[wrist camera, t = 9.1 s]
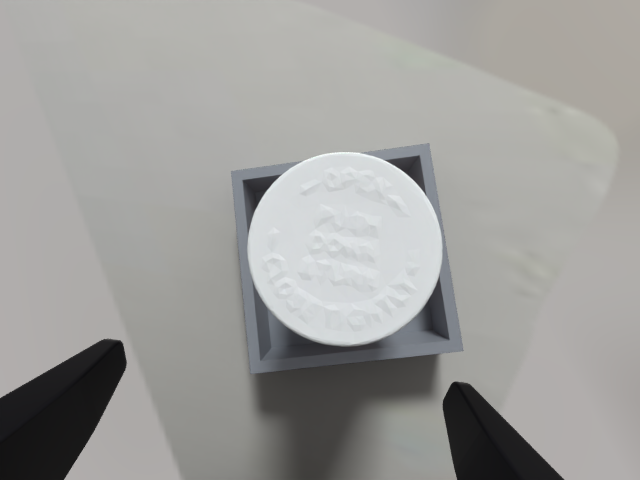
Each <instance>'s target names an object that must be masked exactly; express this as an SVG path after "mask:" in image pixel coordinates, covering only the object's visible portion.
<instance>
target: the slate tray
mask: <svg viewBox="0 0 640 480" xmlns="http://www.w3.org/2000/svg"><path fill="white" fill-rule="evenodd" d="M361 154H366V155H370V156H374V157H377V158H380V159H382V160H384V161H386V162H388V163H390V164H392V165H394V166H396V167H397V168H399V169H400V170H402V171H403V172H404V173H406V174H407V175H408V176H409V177H410V178H411V179H412V180H414V181H415V182H416V184H417V185H418V186H419V187H420V188H421V189H422V191H423V192H424V193H425V195H426V196H427V198H428V200H429V201H430V203H431V205H432V207H433V209H434V211H435V213H436V216H437V220H438V223H439V226H440V230H441V236H442V245H443V249H442V265H441V270H440V274H439V278H438V281H437V284H436V286H435V289H434V291H433V293H432V295H431V296H430V298H429V300H428V301H427V303H426V304H425V306H424V307H423V309H422V310H421V311H420V313H419V314H418V315H417V316H416V317H415V318H414V319H413V320H412V321H411V322H409V323H408V324H407V325H406V326H405V327H403V328H402V329H401V330H399V331H398V332H396V333H394V334H392V335H391V336H389V337H387V338H384V339H382V340H379V341H377V342H374V343H370V344H366V345H360V346H348V347H342V346H332V345H325V344H321V343H317V342H314V341H311V340H309V339H307V338H304V337H302V336H300V335H298V334H297V333H295V332H293V331H292V330H290V329H289V328H287V327H286V326H285V325H283V324H282V323H281V322H280V321H279V320H278V319H277V318H276V317H275V316H274V315H273V314H272V313H271V312H270V311H269V309H268V308H267V307H266V305H265V304H264V302H263V301H262V299H261V298H260V296H259V294H258V292H257V290H256V288H255V285H254V283H253V279H252V276H251V273H250V268H249V262H248V253H247V244H248V235H249V229H250V225H251V222H252V218H253V215H254V212H255V210H256V208H257V206H258V204H259V202H260V201H261V199H262V197H263V196H264V194H265V193H266V191H267V190H268V189H269V188H270V186H271V185H272V184H273V183H274V182H275V181H276V180H277V179H278V178H279V177H280V176H281V175H282V174H284V173H285V172H286V171H287V170H289V169H290V168H292V167H294V166H295V165H297V164H299V163H301V162H303V161H300V162H293V163H286V164H279V165H272V166H264V167H257V168H250V169H243V170H236V171H231V176H232V186H233V197H234V207H235V218H236V228H237V239H238V249H239V260H240V270H241V281H242V291H243V301H244V312H245V322H246V333H247V343H248V354H249V364H250V374H256V373H265V372H275V371H284V370H293V369H302V368H311V367H321V366H330V365H339V364H348V363H358V362H367V361H376V360H385V359H395V358H404V357H413V356H422V355H431V354H441V353H450V352H459V351H463V344H462V338H461V332H460V326H459V320H458V314H457V308H456V302H455V296H454V290H453V284H452V278H451V272H450V266H449V260H448V254H447V248H446V242H445V236H444V230H443V224H442V218H441V212H440V206H439V200H438V194H437V188H436V182H435V176H434V170H433V164H432V158H431V151H430V145H429V143H427V144H420V145H413V146H406V147H399V148H392V149H385V150H378V151H371V152H364V153H361Z"/></svg>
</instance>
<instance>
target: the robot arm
mask: <svg viewBox="0 0 640 480" xmlns="http://www.w3.org/2000/svg"><path fill="white" fill-rule="evenodd" d="M126 363H127V362H126V357H125V351H124V346H123V343H122V342H121V341H120V340H113V339H104V340H101V341H99V342H97V343H96V344H94V345H92V346H90V347H89V348H87V349H85V350H83V351H82V352H80V353H78V354H76V355H75V356H73V357H71V358H69V359H68V360H66V361H64V362H62V363H61V364H59V365H57V366H56V367H54V368H52V369H50V370H48V371H47V372H45V373H43V374H42V375H40V376H38V377H36V378H34V379H33V380H31V381H29V382H28V383H26V384H24V385H22V386H21V387H19V388H17V389H15V390H14V391H12V392H10V393H9V394H6V395H5V396H3V397H1V398H0V480H64V479H65V477H66V475H67V474H68V472H69V471H70V469H71V468H72V466H73V464H74V463H75V461H76V460H77V458H78V456H79V455H80V453H81V452H82V450H83V448H84V447H85V445H86V443H87V442H88V440H89V439H90V437H91V435H92V434H93V432H94V430H95V428H96V426H97V425H98V423H99V421H100V419H101V417H102V415H103V413H104V411H105V409H106V407H107V405H108V403H109V401H110V399H111V397H112V395H113V393H114V391H115V389H116V387H117V385H118V383H119V381H120V379H121V377H122V375H123V373H124V371H125V368H126ZM443 412H444V418H445V423H446V428H447V433H448V439H449V444H450V449H451V454H452V460H453V464H454V469H455V473H456V477H457V480H564V479H563V478H562V477H561V476H560V475H559V474H558V473H557V472H556V471H555V470H554V469H553V468H552V467H551V466H550V465H549V464H548V463H547V462H546V461H545V460H544V459H543V458H542V457H541V456H540V455H539V454H538V453H537V452H536V451H535V450H534V449H533V448H532V447H531V446H530V444H528V442H526V440H524V438H523V437H522V436H521V435H519V433H518V432H517V431H516V430H515V429H514V428H513V427H512V426H511V425H510V424H509V423H508V422H507V421H506V420H505V419H504V418H503V417H502V416H501V415H500V414H499V413H498V412H497V411H496V410H495V409H494V408H493V407H492V406H491V405H490V404H489V403H488V402H487V401H486V400H485V399H484V398H483V397H482V396H481V395H480V394H479V393H478V392H477V391H476V390H475V389H474V388H473V387H472V386H471V385H470V384H468V383H463V382H453V383H452V384H451V386H450V388H449V390H448V392H447V394H446V396H445V398H444V400H443Z"/></svg>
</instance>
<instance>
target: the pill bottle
mask: <svg viewBox="0 0 640 480" xmlns="http://www.w3.org/2000/svg"><path fill="white" fill-rule="evenodd" d="M442 249H443V245H442V236H441V230H440V226H439V223H438V220H437V216H436V213H435V211H434V209H433V207H432V205H431V203H430V201H429V200H428V198H427V196H426V195H425V193H424V192H423V191H422V189H421V188H420V187H419V186H418V185H417V184H416V182H415V181H414V180H412V179H411V178H410V177H409V176H408V175H407V174H406V173H404V172H403V171H402V170H400V169H399V168H397V167H396V166H394V165H392V164H390V163H388V162H386V161H384V160H382V159H380V158H377V157H374V156H370V155H366V154H361V153H352V152H337V153H329V154H323V155H319V156H316V157H313V158H310V159H307V160H305V161H303V162H301V163H299V164H297V165H295V166H294V167H292V168H290V169H289V170H287V171H286V172H285V173H284V174H282V175H281V176H280V177H279V178H278V179H277V180H276V181H275V182H274V183H273V184H272V185H271V186H270V188H269V189H268V190H267V191H266V193H265V194H264V196H263V197H262V199H261V201H260V202H259V204H258V206H257V208H256V210H255V212H254V215H253V218H252V222H251V225H250V229H249V235H248V244H247V253H248V262H249V268H250V273H251V276H252V279H253V283H254V285H255V288H256V290H257V292H258V294H259V296H260V298H261V299H262V301H263V302H264V304H265V305H266V307H267V308H268V309H269V311H270V312H271V313H272V314H273V315H274V316H275V317H276V318H277V319H278V320H279V321H280V322H281V323H282V324H283V325H285V326H286V327H287V328H289V329H290V330H292V331H293V332H295V333H297V334H298V335H300V336H302V337H304V338H307V339H309V340H311V341H314V342H317V343H321V344H325V345H332V346H342V347H348V346H360V345H366V344H370V343H374V342H377V341H379V340H382V339H384V338H387V337H389V336H391V335H392V334H394V333H396V332H398V331H399V330H401V329H402V328H403V327H405V326H406V325H407V324H408V323H409V322H411V321H412V320H413V319H414V318H415V317H416V316H417V315H418V314H419V313H420V311H421V310H422V309H423V307H424V306H425V304H426V303H427V301H428V300H429V298H430V296H431V295H432V293H433V291H434V289H435V286H436V284H437V281H438V278H439V274H440V270H441V265H442Z"/></svg>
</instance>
